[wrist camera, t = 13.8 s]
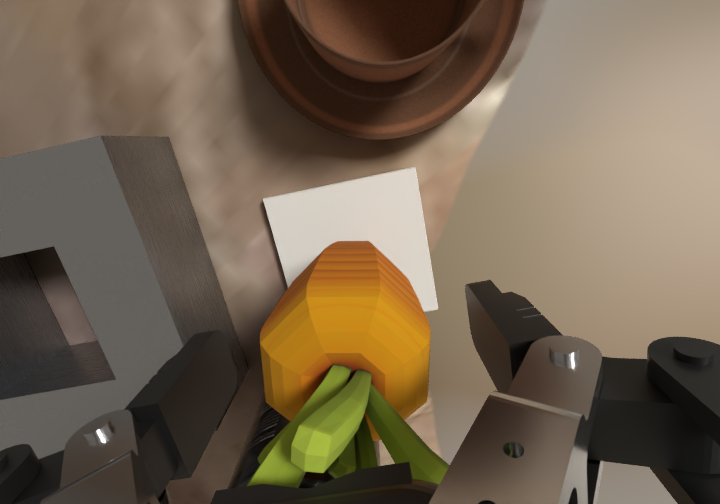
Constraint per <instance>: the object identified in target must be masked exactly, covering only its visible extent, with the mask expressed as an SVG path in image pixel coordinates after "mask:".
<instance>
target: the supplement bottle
mask: <svg viewBox="0 0 720 504" xmlns="http://www.w3.org/2000/svg"><path fill="white" fill-rule="evenodd" d="M290 422H291V421H289V420H288V419H287V418H285V417H284V416H283V415H282V414H280V413H279V412H278V411H276V410H275V409H274V408H273V407H271V406H270V405H269V404H267V403H266V397H265V391H264V394H263V396H262V399H261V402H260V404H259V407H258V410H257V412H256V415H255V418H254V420H253V423H252V426H251V428H250V431H249V434H248V436H247V439H246V442H245V444H244V447H243V449H242V452H241V455H240V457H239V460H238V463H237V465H236V468H235V471H234V473H233V476H232V479H231V481H230V484H229V487H228V489H231V488H238V487H245V486H247V484H248V482H249V481H250V479H251V477H252V476H253V474H254V473H255V472H256V470H257V469H258V467H259V466H260V463H259V461H258V456H259V455H260V453H261V452H262V450H263V449H264V448H265V447H266V446H267V445H268V444H269V443H270V442H271V441H272V440H273V439H274V438H275V437H276V436H277V435H278V434H279V433H280V432H281V431H282V430H283V429H284V428H285V427H286V426H287V425H288V424H289V423H290ZM373 443H374V447H375V451H376V457H377V462H378V466H380V452H379V441H373ZM328 470H329V467H328V468H327V470H326V471H325V472H324V473H317V472H306V473H305V475H304V477H303V479H302V481H301V483H300V485H299V487H298V488H312V487H315V486H318V485H320V484H323V483H326V482H328V481H331V480H333V479H335V478H334V477H333V476H332V475H331V474H329V473H328Z"/></svg>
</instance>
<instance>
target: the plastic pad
mask: <svg viewBox="0 0 720 504" xmlns="http://www.w3.org/2000/svg"><path fill="white" fill-rule="evenodd" d="M263 201H264V205H265V208H266V212H267V215H268V219H269V222H270V226H271V229H272V233H273V236H274V240H275V243H276V247H277V250H278V254H279V257H280V261H281V264H282V268H283V271H284V275H285V278H286V282H287V285H288V288H289V286H290V285H291V284H292V282H293V281H294V280H295V279H296V278H297V277H298V276H299V275H300V274H301V273H302V272H303V271H304V270H305V269H306V268H307V266H308V265H309V264H310V263H311V262H312V261H313V260H314V259H315V258H316V257H317V256H318V255H319V254H320V253H321V252H322V251H323V250H324V249H325V248H326V247H328V246H329V245H331V244H332V243H335V242H337V241H369V242H371V243H372V244H373V245H374V246H375V247H376V248H377V249H378V250H379V251H380V252H381V253H382V254H384V255H385V256H386V257H387V258H388V259H389V260H390V261H391V262H392V263H393V264H394V265H395V266H396V267H397V268H398V269H399V270H400V271H401V272H402V273H403V274H404V275H405V276H406V277H407V278H408V279H409V281H410V283H411V285H412V287H413V289H414V291H415V293H416V295H417V297H418V299H419V302H420V304H421V306H422V309H423V311H424V312H426V311H432V310H437V309H438V304H437V299H436V292H435V285H434V279H433V273H432V267H431V261H430V254H429V248H428V242H427V236H426V230H425V223H424V217H423V211H422V205H421V198H420V192H419V186H418V180H417V174H416V167H410V168H405V169H400V170H396V171H391V172H386V173H381V174H377V175H372V176H367V177H362V178H357V179H353V180H348V181H343V182H338V183H334V184H329V185H324V186H319V187H315V188H310V189H305V190H300V191H296V192H291V193H286V194H281V195H277V196H272V197H267V198H264V199H263Z"/></svg>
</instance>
